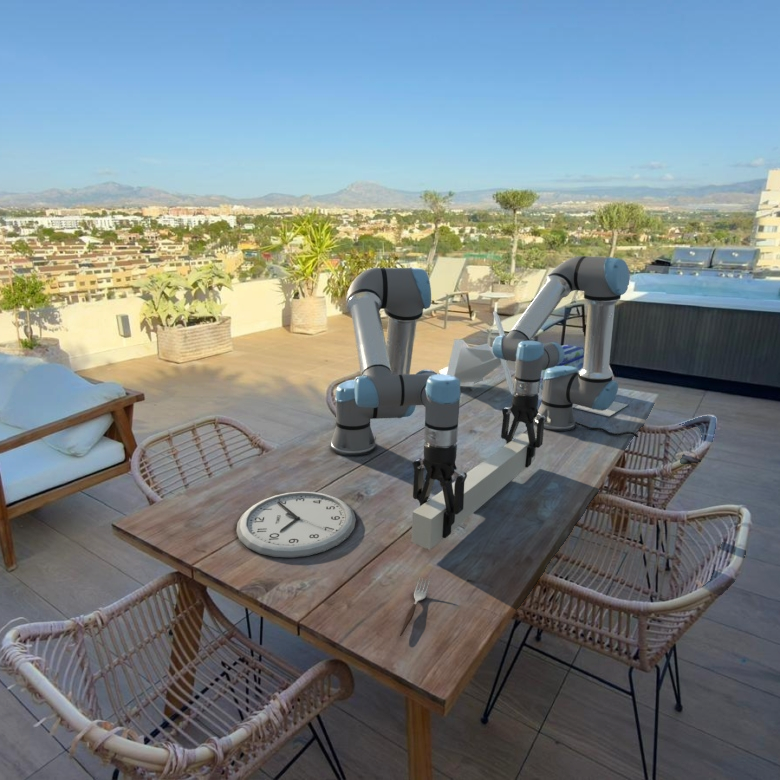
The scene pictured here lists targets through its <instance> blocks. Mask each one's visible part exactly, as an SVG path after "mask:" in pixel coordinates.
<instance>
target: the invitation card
mask: <svg viewBox="0 0 780 780" xmlns="http://www.w3.org/2000/svg"><path fill="white" fill-rule="evenodd" d="M628 406H629V404H627V403H623V402H618V401H615V400H614V401H613V403H612V404H611V406H610V407H609V408H608V409H606V410H603V411H601V410H596V409H592V408H588V407H584V406H580V405H575V406H574V407H573V409H575V410H581V411H584V412H587V413H593V414H596V415H600V416H604V417H608V418H609V417H611V416H613V415H614V414H616V413H617V412H619V411H621V410H623V409H624V408H626V407H628Z"/></svg>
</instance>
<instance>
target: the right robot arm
mask: <svg viewBox="0 0 780 780" xmlns="http://www.w3.org/2000/svg"><path fill="white" fill-rule="evenodd" d="M630 275H631V274H630V269H629V266H628V264H627V262H626V261H625V260H624V259H622V258H617V257H612V256H610V257H609V256H586V255H578V256H574V257H571V258H569V259H567V260H565V261H563V262H562V263H560V264H559V265H557V266H556V267H555V268H554V269H552V270H551V272H549V274H548V275H547V277H546V278H545V279H544V282H543V284H544V285H543V286H542V288H541V289H540V290H539V292H538V293H537V295H536V296H535V297H534V299H533V300H532V301H531V303H530V304H529V306H528V307H527V308H526V309H525V311H524V312H523V314H522V315H521V316H520V318H519V319H518V320H517V321H516V322H515V324H514V326H513V327H512V328H511V329H510V331H509V332H508V334H507V335H505V336H504V335H503V336H500V335H498V336H496V337H495V339H493V341H492V347H491V348H492V351H493V354H494V356H495V357H497V358H500V359H504V360H508V361H509V362H513V363H514V362H516V366H515V368H514V369H515V372H514V380H513V385H514V391H515V392H514V393H513V395H512V401H511V402H512V403H511V406H509V407H508V406H505V407H504V408H502V410H501V413H502V424H501V431H500V433H501V434H500V438H501V439H503V440H505V443H506V444H508V443H509V442H511V441H512V440H513V439H514V437H515V435H516V432H517V430H518V428H519V427H518V426H519V425H520V423H523V424H524V425H525V427H526V431H527V433H526V434H528V439H529V445H530V446H529V447H527V454H526V464H525V467H526V469H527V468H529V467H530V466H532V463H531V459H532V458H533V457H534V456H535V449H536V450H537V449H539V448H540V447H541V446H543V441H544V430H549V431H556V432H567V431H572V430H574V429H575V428H576V425H577V426H580V427H583V428H585V429H587V430H592V431H601V432H604V433H606V434H608V435H610V436H616V437H617V436H625V435H632V436H634V437H635V438H639V435H638V434H637V433H635V432H633V431H624V432H612V431H609V430H608V429H605V428H602V427H592V426H588V425H586V424H584V423H581V422H578V421H576V418H575V417H576V416H575V413H574V407H573V405H576V406H578V405H580V406H584V407H588V408H592V409H596V410H601V411H603V410H606V409H608V408H609V407H610V406H611V404H612V403H613V401H614V402H615V399H616V397H617V394H618V391H619V383H618V381H617V380H615V379H613V378H614V377H613V376H614V373H613V371H612V370H611V369H610V360H611V349H612V339H613V330H614V319H615V309H616V303H617V302H619V301H620V300H621V296H622V295H625V294H626V293H627V292H628V288H629V285H630ZM575 291H579V292H583V300H585V301H586V302H587V314H586V316H587V317H586V326H585V339H584V340H585V341H584V362H583V368H582V369H581V370H579V372H578V373H577V371H578V370H577V368H576V367H573V366H556V365H559V364H560V363H561V362H562V361H563V359H564V349H563V348H562V346H563V345H561V344H560V343H558V342H553V341H552V342H550V341H549V342H546V343H545V342H540V341H536V340H534V339H535V337H536V335H537V334H538V333H539V331H540V330H541V329H542V328H543V326H544V325H545V323H546V322H547V320H549V317H550V316H551V315H552V313H553V312H554V311H555V309H556V308H557V307H558V305H559V304H560V302H561V301H562V300H563V298H566V297H568V296H569V295H570V294H571V292H575ZM545 369H546V371H545V375H544V379H543V380H544V381H543V390H541V391H542V394H541V402H540V405H539V397H540V395H539V393H540V389H541V388H540V378H541V371H542V370H545ZM538 405H539V407H538ZM511 414H512V416H513V420H512V422H511V425H510V419H511ZM534 425H536V432H535V426H534ZM535 436H536V438H535ZM506 444H505V445H506ZM535 457H536V456H535Z"/></svg>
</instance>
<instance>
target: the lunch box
mask: <svg viewBox="0 0 780 780" xmlns="http://www.w3.org/2000/svg"><path fill="white" fill-rule="evenodd" d="M561 346H562V348H563V349H564V359H563V361H562V362H561V363H560V364H559V365H556V366H573V367H576V368H577V370H578V371H577V373H578V372H579V370H581V369H582V368H583V364H584V351H585V347H582V346H577V345H576V346H574V345H570V344H563V345H561ZM545 371H546V369H545V370H542V371H541V377H540V388H539V389H540V390H541V391H543V381H544V380H543V379H544V375H545Z"/></svg>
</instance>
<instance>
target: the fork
mask: <svg viewBox="0 0 780 780" xmlns="http://www.w3.org/2000/svg"><path fill="white" fill-rule="evenodd" d="M420 580H421V577H419V578H418V581H417V585H416V587H415V590H414V592H413V598H414V600H415V601H414V603H413V604H412V606H411V607H410V609H409V611H408V612H407V613H406V616H405V619H404V622H403V624H402V625H403V626H402V628H401V631H400V634H399V636H400V637H402V635H403V634H404V632H405V631H406V629H407V627H408V626H409V624H410V622H411V621H412V619H413V617H414V614H415V610H416V607H417V604H418V602H420V601H423V600H425V599H426V598H427V596H428V591H429V586H430V582H431V581H430V580H431V579H428V583H427V578H426V579H425V580H424V578H422V580H421V583H420ZM423 582H424V584H423ZM426 583H427V586H426ZM419 584H420V585H419ZM422 587H423V588H422Z"/></svg>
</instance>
